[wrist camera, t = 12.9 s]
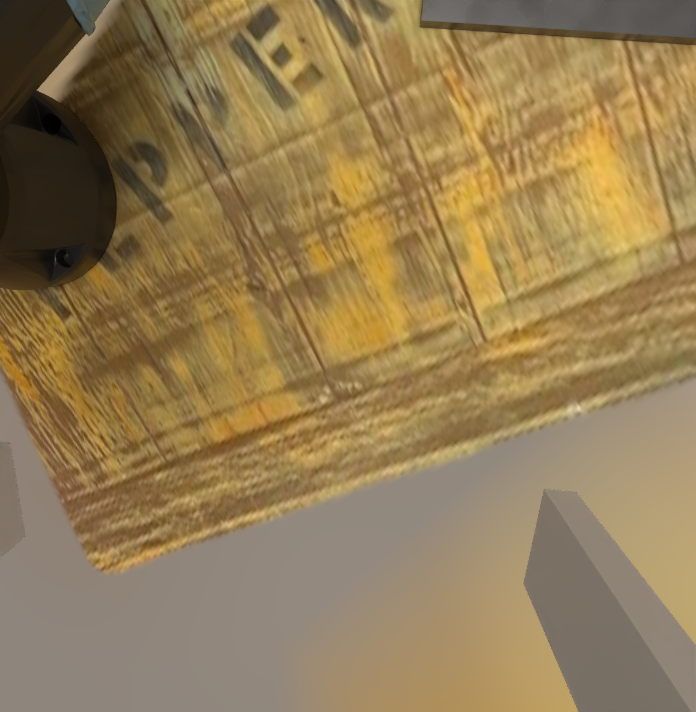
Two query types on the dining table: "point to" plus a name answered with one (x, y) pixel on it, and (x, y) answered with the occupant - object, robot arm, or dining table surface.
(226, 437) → the dining table surface
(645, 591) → the robot arm
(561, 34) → the ring plate
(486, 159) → the dining table surface
